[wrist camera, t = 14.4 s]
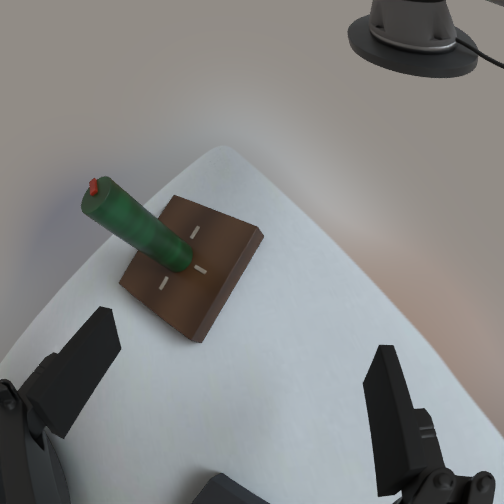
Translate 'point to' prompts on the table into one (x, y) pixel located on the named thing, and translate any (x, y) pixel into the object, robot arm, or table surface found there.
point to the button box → (226, 493)
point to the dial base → (194, 267)
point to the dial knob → (135, 224)
